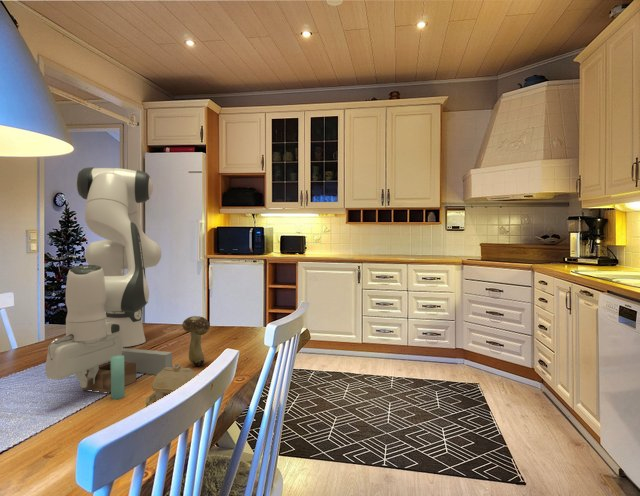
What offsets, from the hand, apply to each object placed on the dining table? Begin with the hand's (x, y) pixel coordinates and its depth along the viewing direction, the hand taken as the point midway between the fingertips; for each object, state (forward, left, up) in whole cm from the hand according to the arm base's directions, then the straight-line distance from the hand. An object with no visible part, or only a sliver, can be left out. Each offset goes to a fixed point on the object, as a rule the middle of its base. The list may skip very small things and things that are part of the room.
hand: (87, 385), depth 104 cm
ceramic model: (+26, 0, -3) cm, 26 cm away
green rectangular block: (+8, +1, -2) cm, 9 cm away
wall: (0, +20, -2) cm, 20 cm away
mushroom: (+12, +29, -3) cm, 32 cm away
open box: (0, +7, -2) cm, 7 cm away
